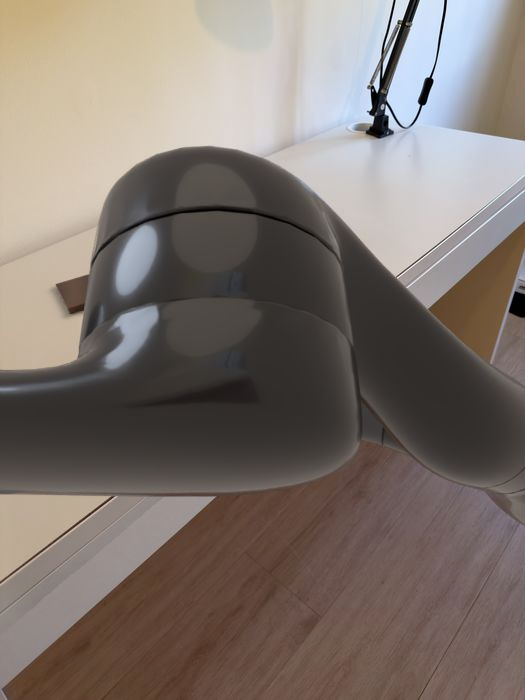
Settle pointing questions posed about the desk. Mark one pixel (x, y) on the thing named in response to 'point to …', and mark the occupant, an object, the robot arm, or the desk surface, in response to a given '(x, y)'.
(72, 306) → the coaster
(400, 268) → the desk surface
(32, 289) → the desk surface
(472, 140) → the desk surface
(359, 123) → the desk surface
